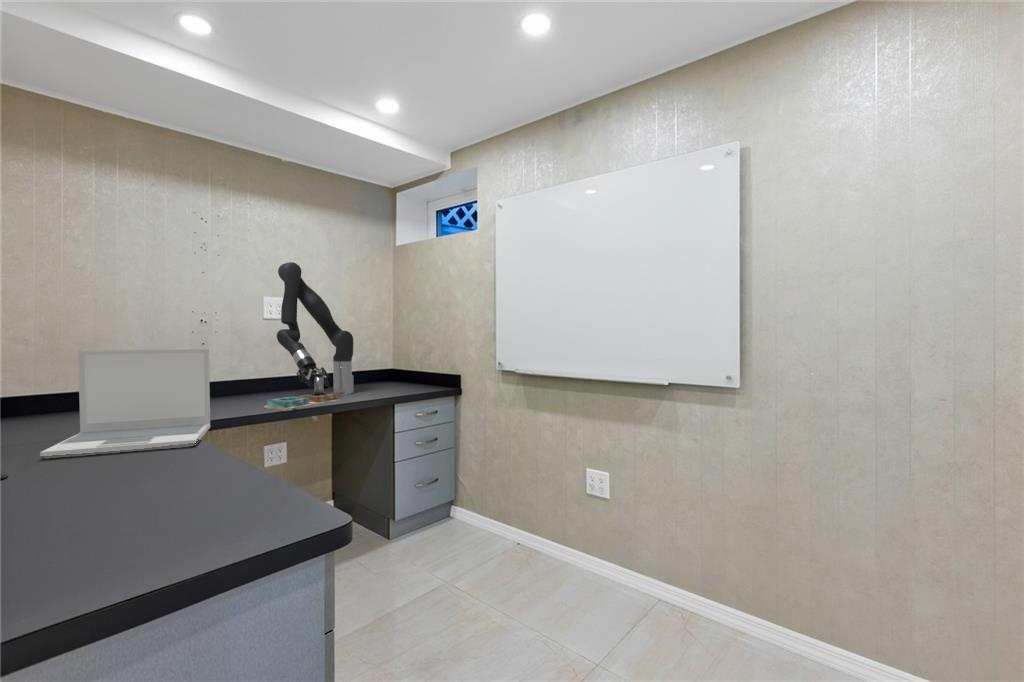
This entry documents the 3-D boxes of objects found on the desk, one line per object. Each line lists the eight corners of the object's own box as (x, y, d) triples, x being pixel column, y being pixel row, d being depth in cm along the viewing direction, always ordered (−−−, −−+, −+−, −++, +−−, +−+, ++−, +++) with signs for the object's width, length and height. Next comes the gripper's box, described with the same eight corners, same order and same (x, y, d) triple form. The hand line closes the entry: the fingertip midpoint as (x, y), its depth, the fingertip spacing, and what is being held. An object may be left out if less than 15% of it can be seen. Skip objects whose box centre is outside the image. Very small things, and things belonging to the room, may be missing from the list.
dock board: (320, 399, 233) (320, 391, 233) (341, 401, 226) (341, 394, 226) (264, 407, 208) (264, 399, 208) (286, 411, 201) (285, 402, 200)
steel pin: (320, 398, 227) (319, 371, 227) (327, 399, 225) (327, 372, 224) (311, 400, 223) (310, 372, 222) (318, 401, 220) (318, 373, 220)
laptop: (40, 462, 127) (37, 355, 126) (81, 440, 151) (79, 350, 150) (195, 448, 141) (193, 353, 140) (210, 430, 165) (209, 348, 164)
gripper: (294, 356, 221) (310, 382, 215) (320, 354, 233) (336, 379, 228) (287, 367, 224) (303, 393, 218) (313, 365, 236) (329, 390, 231)
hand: (320, 386), depth 223 cm, fingers open, 8 cm apart
